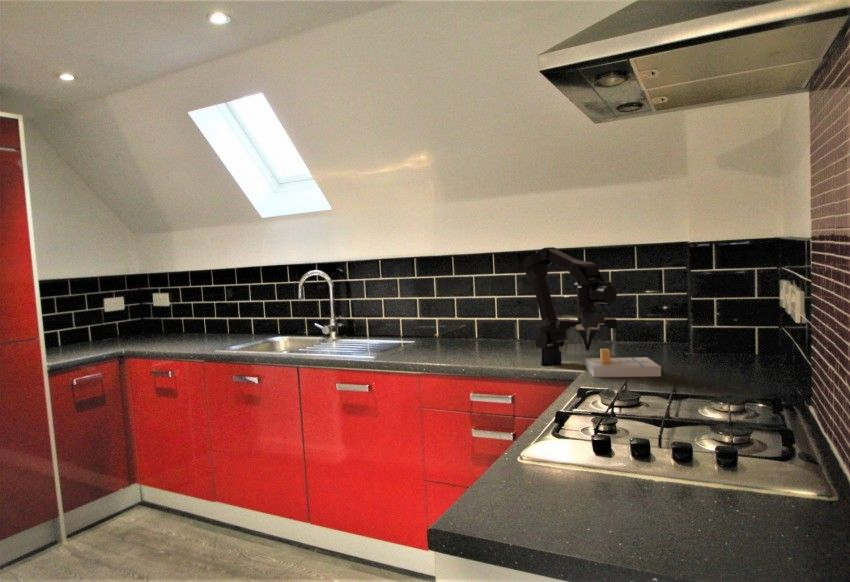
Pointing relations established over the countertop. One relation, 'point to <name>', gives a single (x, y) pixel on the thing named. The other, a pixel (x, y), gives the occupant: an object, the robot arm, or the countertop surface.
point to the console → (623, 367)
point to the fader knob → (605, 355)
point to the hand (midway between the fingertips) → (587, 350)
